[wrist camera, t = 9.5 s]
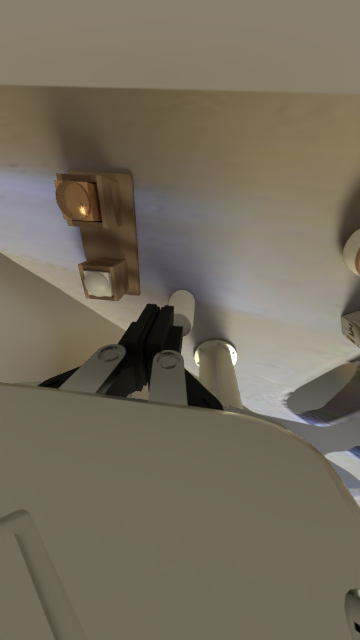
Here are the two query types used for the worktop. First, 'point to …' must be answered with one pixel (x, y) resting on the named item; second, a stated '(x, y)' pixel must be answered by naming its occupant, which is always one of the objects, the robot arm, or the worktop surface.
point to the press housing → (110, 232)
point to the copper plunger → (78, 200)
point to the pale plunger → (98, 283)
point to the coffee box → (352, 327)
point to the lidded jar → (352, 253)
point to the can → (183, 309)
